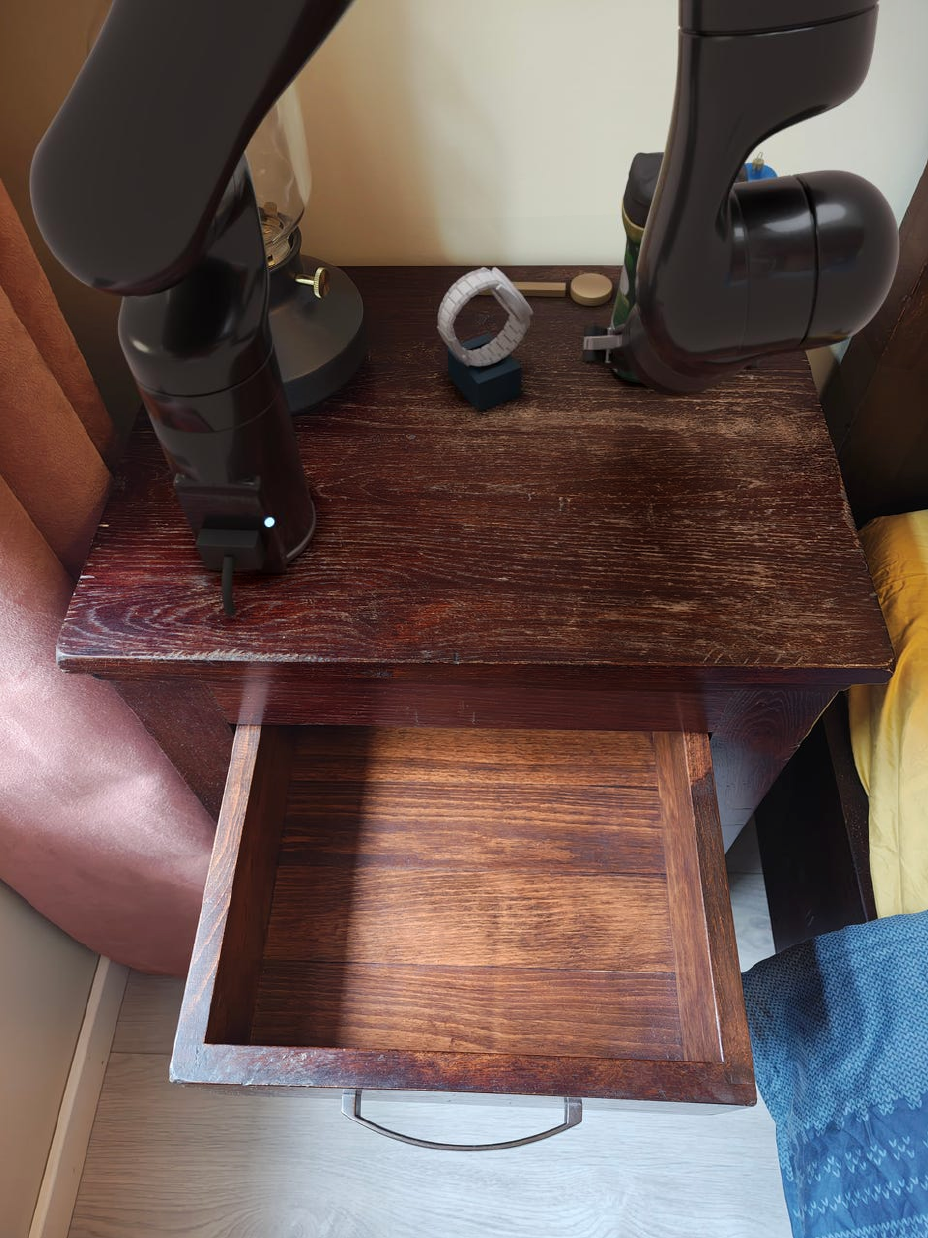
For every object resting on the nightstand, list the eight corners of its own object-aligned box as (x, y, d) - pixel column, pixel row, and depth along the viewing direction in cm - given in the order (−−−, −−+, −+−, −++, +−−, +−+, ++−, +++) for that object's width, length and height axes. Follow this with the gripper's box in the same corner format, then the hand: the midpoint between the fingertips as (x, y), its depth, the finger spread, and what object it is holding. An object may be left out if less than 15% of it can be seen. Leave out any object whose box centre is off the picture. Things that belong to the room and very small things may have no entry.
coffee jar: (704, 331, 86) (748, 129, 70) (717, 387, 81) (767, 183, 66) (600, 333, 86) (622, 133, 71) (608, 389, 81) (633, 187, 66)
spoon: (611, 306, 88) (612, 297, 87) (472, 303, 89) (472, 294, 88) (610, 282, 90) (611, 273, 90) (475, 279, 91) (475, 270, 91)
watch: (539, 387, 82) (545, 278, 73) (461, 419, 79) (456, 310, 71) (507, 353, 84) (509, 244, 76) (431, 382, 82) (423, 274, 73)
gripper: (810, 266, 54) (742, 315, 72) (587, 260, 55) (573, 310, 72) (797, 394, 56) (734, 413, 73) (580, 387, 56) (567, 406, 74)
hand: (653, 361), depth 73 cm, fingers closed
